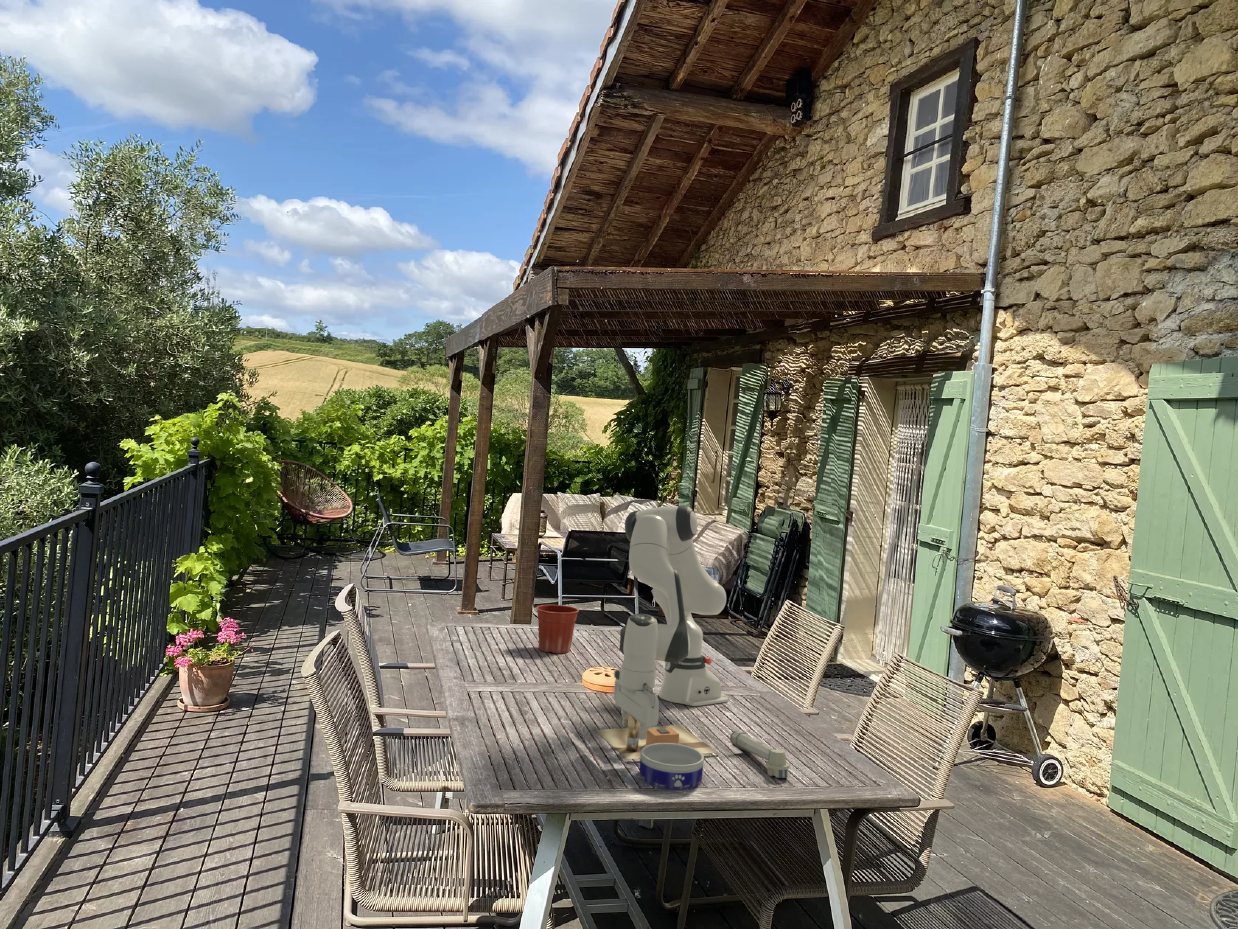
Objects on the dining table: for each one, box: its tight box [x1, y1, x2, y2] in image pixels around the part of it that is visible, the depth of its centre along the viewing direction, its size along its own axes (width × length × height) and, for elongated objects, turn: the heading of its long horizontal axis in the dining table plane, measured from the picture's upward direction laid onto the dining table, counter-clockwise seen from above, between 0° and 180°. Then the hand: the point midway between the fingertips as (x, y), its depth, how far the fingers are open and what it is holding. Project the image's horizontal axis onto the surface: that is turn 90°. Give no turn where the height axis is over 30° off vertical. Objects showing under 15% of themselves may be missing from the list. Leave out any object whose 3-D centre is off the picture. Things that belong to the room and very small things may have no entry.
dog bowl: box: [639, 743, 705, 791], centre depth 201 cm, size 15×15×6 cm
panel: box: [595, 724, 719, 765], centre depth 223 cm, size 26×22×1 cm
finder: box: [646, 728, 679, 745], centre depth 219 cm, size 7×5×4 cm
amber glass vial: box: [626, 714, 640, 752], centre depth 215 cm, size 3×3×9 cm
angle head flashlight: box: [729, 730, 790, 779], centre depth 217 cm, size 5×7×25 cm
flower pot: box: [535, 604, 580, 654], centre depth 321 cm, size 16×16×16 cm
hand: (633, 732), depth 215 cm, fingers open, 8 cm apart
